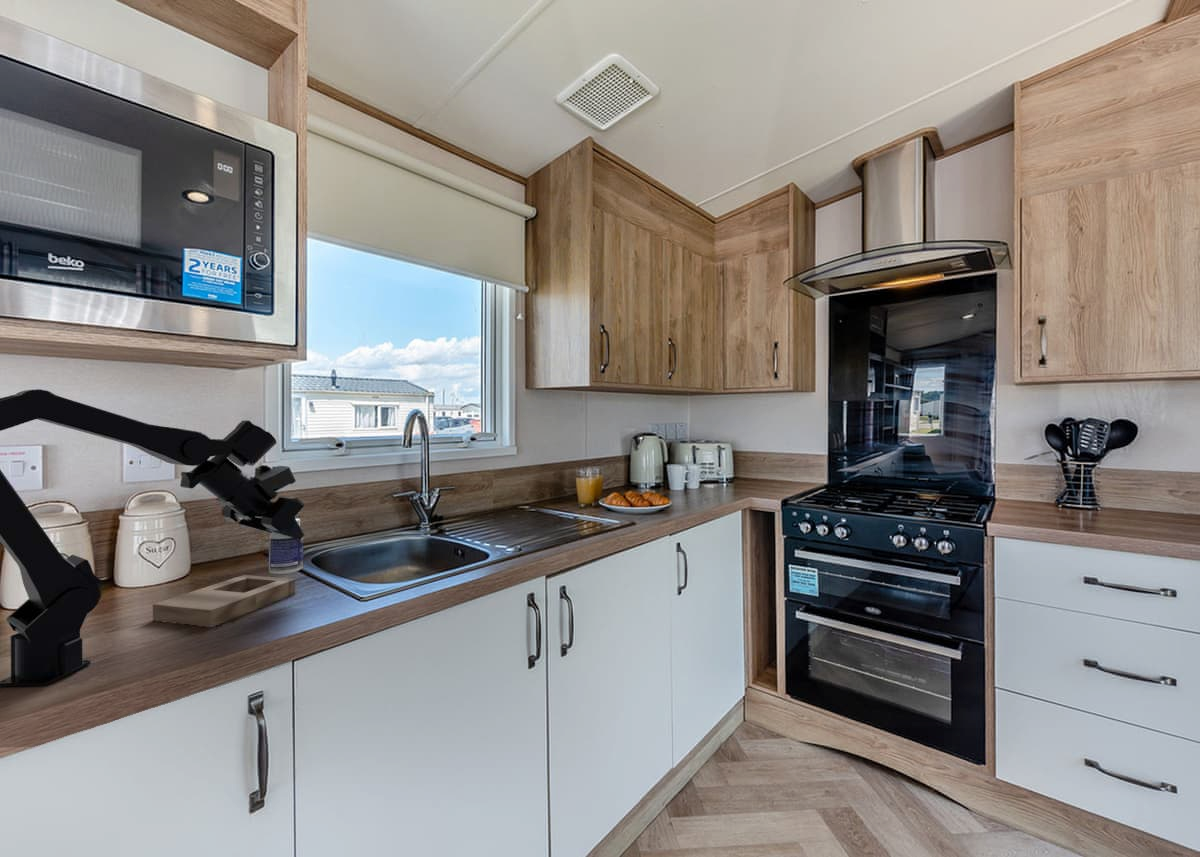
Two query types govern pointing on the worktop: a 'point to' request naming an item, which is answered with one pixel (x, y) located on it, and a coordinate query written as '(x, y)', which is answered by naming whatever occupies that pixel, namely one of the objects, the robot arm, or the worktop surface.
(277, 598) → the brown block with opening
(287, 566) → the pill bottle
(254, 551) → the worktop surface
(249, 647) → the worktop surface
